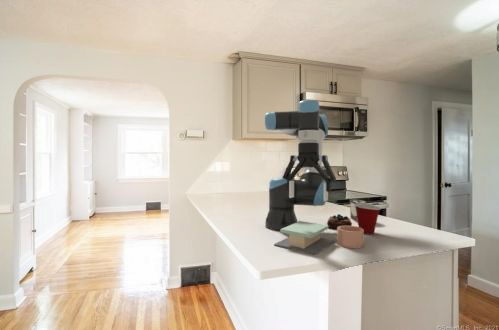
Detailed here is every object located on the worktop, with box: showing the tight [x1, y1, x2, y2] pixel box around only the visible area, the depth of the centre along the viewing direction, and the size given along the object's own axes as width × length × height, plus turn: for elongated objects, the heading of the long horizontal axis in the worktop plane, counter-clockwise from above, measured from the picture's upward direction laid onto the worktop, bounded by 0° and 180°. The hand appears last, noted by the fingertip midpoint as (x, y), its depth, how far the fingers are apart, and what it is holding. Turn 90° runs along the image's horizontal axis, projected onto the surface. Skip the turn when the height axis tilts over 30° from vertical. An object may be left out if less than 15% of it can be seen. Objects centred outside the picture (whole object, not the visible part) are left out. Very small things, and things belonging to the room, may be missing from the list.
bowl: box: [336, 225, 365, 249], centre depth 103 cm, size 9×9×6 cm
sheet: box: [279, 220, 329, 238], centre depth 104 cm, size 12×16×1 cm
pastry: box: [326, 213, 353, 230], centre depth 129 cm, size 11×12×6 cm
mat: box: [273, 233, 335, 256], centre depth 104 cm, size 16×18×5 cm
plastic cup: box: [354, 203, 382, 235], centre depth 119 cm, size 11×11×12 cm
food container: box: [349, 199, 367, 224], centre depth 142 cm, size 12×6×10 cm, turn 179°
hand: (308, 199), depth 104 cm, fingers open, 13 cm apart
